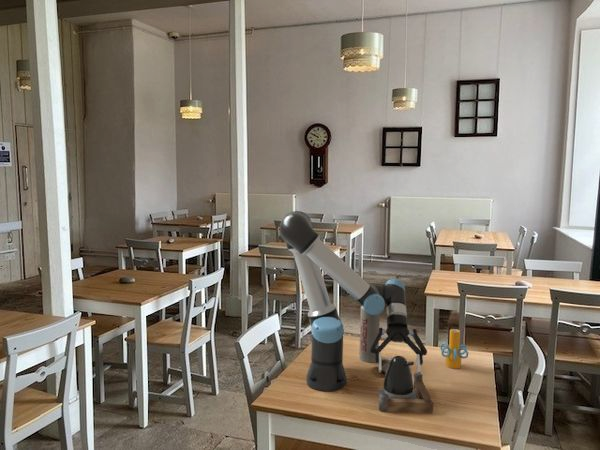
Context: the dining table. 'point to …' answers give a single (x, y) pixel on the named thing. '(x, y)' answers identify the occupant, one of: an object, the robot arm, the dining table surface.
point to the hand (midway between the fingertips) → (399, 372)
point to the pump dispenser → (398, 378)
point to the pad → (413, 396)
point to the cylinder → (454, 350)
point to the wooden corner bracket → (408, 400)
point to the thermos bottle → (368, 335)
